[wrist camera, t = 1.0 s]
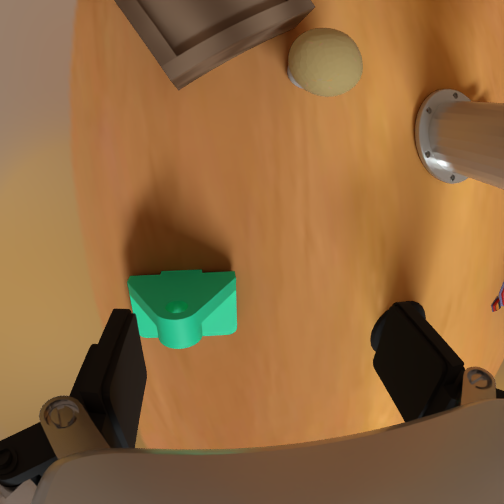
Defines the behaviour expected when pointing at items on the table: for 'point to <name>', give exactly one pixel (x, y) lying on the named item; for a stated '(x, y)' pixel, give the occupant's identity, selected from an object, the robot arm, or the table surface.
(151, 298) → the camera mount
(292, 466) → the robot arm
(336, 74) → the light bulb
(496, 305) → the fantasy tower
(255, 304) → the table surface
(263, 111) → the table surface
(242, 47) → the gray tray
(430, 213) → the table surface
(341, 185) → the table surface
